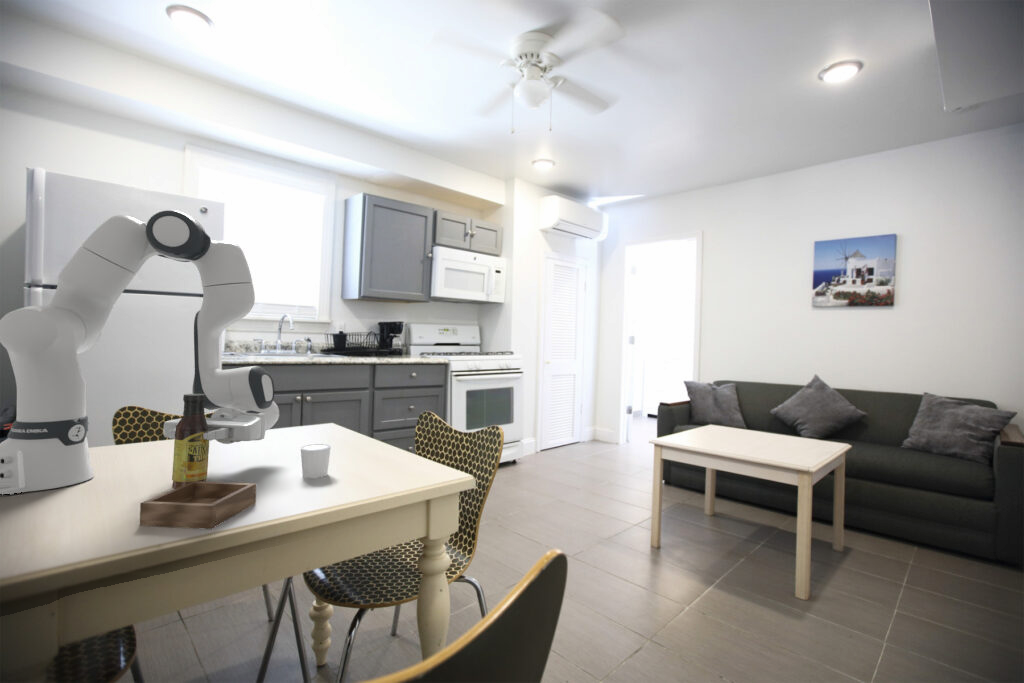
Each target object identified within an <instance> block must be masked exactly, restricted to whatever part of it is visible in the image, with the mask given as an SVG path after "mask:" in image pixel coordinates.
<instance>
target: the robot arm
mask: <svg viewBox="0 0 1024 683" xmlns="http://www.w3.org/2000/svg"><path fill="white" fill-rule="evenodd" d="M154 256H158V257H160V258H161V257H163V258H166V259H169V260H173V261H176V262H180V263H183V262H184V263H192V264H194V265H195V266H196V268H197V270H198V273H199V277H200V282H201V286H202V291H203V292H202V294H203V297H202V304H201V307H200V309H199V310H198V311H197V312H196V314H195V317H194V321H193V344H194V345H193V350H194V376H193V384H192V394H205V395H206V401H205V405H204V409H206V410H208V411H213V410H215V411H214V412H213V413H212V414H211V416H210V417H205V418H206V422H207V425H208V429H209V431H207V432H204V433H203V436H204V437H203V440H209V442H211V441H214V440H215V441H216V442H218V443H220V444H225V445H230V444H234V443H240V442H252V441H262V440H263V439H265V436H266V431H268V430H270V429H271V428H272V427H273V426H274V425H275V424H276V423H277V421H278V420H279V418H280V409H279V406H278V404H277V403H276V402H275V401H274V399H275V385H274V381H273V378H272V377H271V376H272V375H270V374H269V372H268V371H266V369H265V368H263V367H261V366H259V365H253V366H252V365H251V366H244V367H243V366H242V367H238V368H237V367H236V368H230V369H228V368H227V369H222V367H220V337H221V335H222V333H223V331H225V330H226V329H227V328H229V327H230V326H231V325H233V324H234V323H236V322H238V321H240V320H242V319H243V318H244V317H246V316H247V315H248V314H249V313H250V312H251V311H252V309H253V308H254V306H255V300H256V296H255V289H254V284H253V278H252V273H251V270H250V266H249V264H248V261H247V259H246V256H245V254H244V251H243V249H242V248H241V247H240V246H239V245H237V244H236V243H234V242H232V241H227V240H214V239H212V238H211V237H210V236H209V234H208V233H207V232H206V230H205V228H204V227H203V226H202V224H200V223H199V221H198V220H196V219H194V218H193V217H192V216H190V215H189V214H187V213H185V212H182V211H179V210H173V209H169V210H166V209H165V210H162V211H159V212H157V213H155V214H153V215H152V216H151V217H150V218H149V219H148V221H147V222H144V221H141V220H139V219H137V218H135V217H132V216H129V215H123V214H117V215H113V216H111V217H109V218H108V219H106V220H105V221H104V222H103V223H102V224H101V225H99V226H97V227H96V229H95V230H94V231H93V232H92V233H91V234H90V235H89V236H88V237H87V238H86V239H85V241H84V242H83V243H82V244H81V245H80V246H79V248H78V249H77V250H76V252H75V253H74V254H73V256H71V258H70V259H69V261H68V262H67V263H66V264H65V266H64V267H63V268H62V269H61V271H60V272H59V274H58V277H57V280H58V283H57V287H56V289H55V291H54V294H53V296H52V298H51V300H50V302H49V304H48V305H29V306H25V307H21V308H18V309H17V308H16V309H15V310H12V311H10V312H7V313H6V314H4V316H3V317H2V318H1V319H0V344H1V346H3V347H4V349H5V350H6V352H7V354H8V357H9V360H10V362H11V363H10V364H11V367H12V371H13V374H14V378H15V385H16V419H15V420H14V421H13V422H12V423H6V424H3V426H6V427H4V428H3V430H5V431H7V430H9V432H8V434H7V435H6V436H7V438H6V439H5V440H3V441H1V442H0V494H2V495H1V496H4V495H3V494H10V495H15V494H14V493H17V494H20V493H21V492H22V493H26V492H37V491H44V490H45V491H46V490H52V489H57V488H64V487H67V486H72V485H75V484H79V483H83V482H85V481H88V480H90V479H91V480H92V478H93V477H94V473H93V471H94V467H93V466H92V465H91V460H90V459H91V458H90V450H89V441H88V438H87V432H88V431H89V425H90V424H89V423H90V422H89V417H88V415H87V414H86V413H87V381H86V379H85V378H84V376H83V374H82V371H81V368H80V363H79V359H78V355H79V354H82V353H84V352H86V351H88V350H90V349H91V348H93V347H94V346H95V345H97V343H98V342H99V341H100V339H101V336H102V330H103V328H104V327H105V324H106V323H107V321H108V318H109V316H110V313H111V312H112V309H113V308H114V305H115V304H116V302H118V299H119V298H120V297H121V295H122V294H123V292H124V291H125V290H126V288H127V287H128V286H129V284H130V282H132V280H133V279H134V277H135V276H136V275H137V273H138V272H139V271H140V270H141V268H142V266H144V264H145V263H146V262H147V261H148V260H149V259H151V258H152V257H154ZM181 419H182V417H181V418H176V419H170V420H167V421H165V422H164V424H163V436H164V438H168V439H171V440H175V436H176V427H177V424H178V423H179V421H180V420H181ZM7 426H8V427H7Z"/></svg>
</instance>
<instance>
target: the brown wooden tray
mask: <svg viewBox="0 0 1024 683" xmlns="http://www.w3.org/2000/svg"><path fill="white" fill-rule="evenodd" d="M256 502H257V483H252V482H251V483H248V482H226V481H225V482H224V481H222V482H220V481H206V482H204V481H193V482H191V483H188V484H186V485H183V486H181V487H178V488H176V489H174V488H173V489H171V490H169V491H166V492H164V493H161V494H159V495H157V496H154V497H152V498H150V499H147V500H144V501H141V502H140V504H139V509H140V510H139V527H158V528H159V527H161V528H162V527H163V528H180V529H199V528H205V530H212V528H213V529H214V528H216V527H218V526H219V524H220V523H221V524H222V522H223V523H224V521H225V522H227V521H228V520H230V519H232V518H233V517H234V516H237V515H238V514H240V513H242V512H243V510H244V511H246V510H247V509H249V508H250V507H252V506H253V505H256V504H255V503H256ZM236 514H237V515H236ZM231 517H232V518H231ZM229 518H230V519H229ZM221 524H220V525H221ZM217 525H218V526H217ZM215 526H216V527H215Z"/></svg>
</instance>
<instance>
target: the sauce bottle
mask: <svg viewBox="0 0 1024 683" xmlns="http://www.w3.org/2000/svg"><path fill="white" fill-rule="evenodd" d="M205 401H206V395H205V394H193V393H184V394H183V412H182V417H181V418H182V419H181V418H180V419H181V420H180V421H179V423H178V424H177V427H176V436H175V439H174V446H173V460H172V476H171V481H172V484H171V485H172V488H173V489H176V488H178V487H181V486H183V485H186V484H188V483H191V482H193V481H204V482H207V478H208V470H209V469H208V468H209V453H210V452H209V450H210V441H209V440H203V437H204V436H203V433H204V432H207V431H209V429H208V425H207V422H206V418H207V417H206V415H205V408H204V405H205Z"/></svg>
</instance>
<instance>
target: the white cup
mask: <svg viewBox="0 0 1024 683" xmlns="http://www.w3.org/2000/svg"><path fill="white" fill-rule="evenodd" d="M330 455H331V445H330V444H324V443H321V444H319V443H318V444H308V445H303V446H302V447H300V456H301V457H300V458H301V470H302V471H301V473H302V477H303V478H304V477H305V478H304V479H308V478H314V479H320V478H319V477H321V478H324V477H323V476H325V477H327V476H328V473H329V465H330V464H329V463H330Z"/></svg>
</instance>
